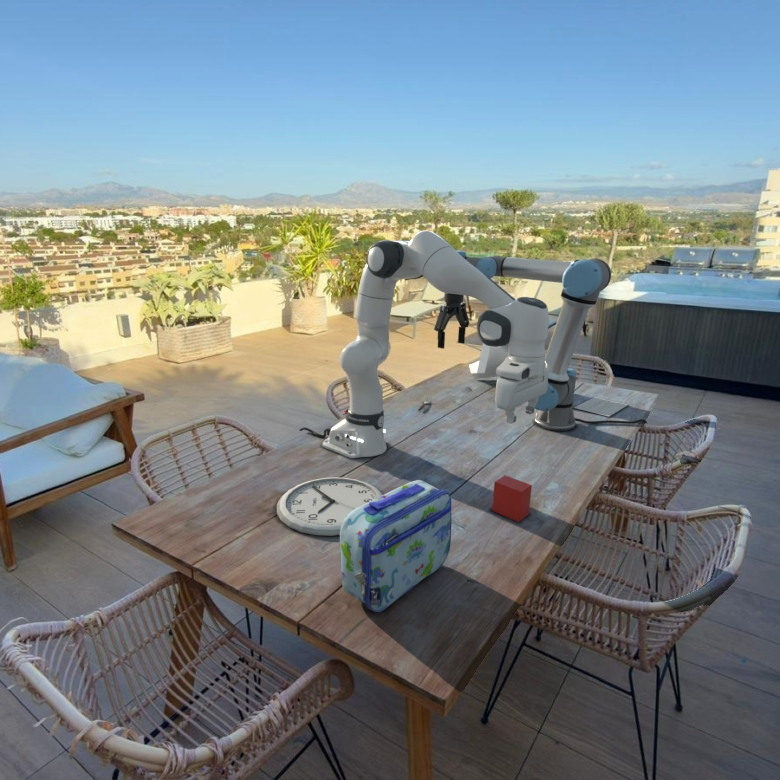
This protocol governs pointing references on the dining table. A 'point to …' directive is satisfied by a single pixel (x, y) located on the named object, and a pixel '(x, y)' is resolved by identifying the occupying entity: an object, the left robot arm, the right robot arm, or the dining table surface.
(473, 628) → the dining table surface
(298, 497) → the wall clock
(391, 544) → the lunch box
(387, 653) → the dining table surface
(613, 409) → the invitation card
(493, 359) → the white plastic object
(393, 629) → the dining table surface
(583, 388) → the dining table surface
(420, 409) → the fork
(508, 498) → the brick
